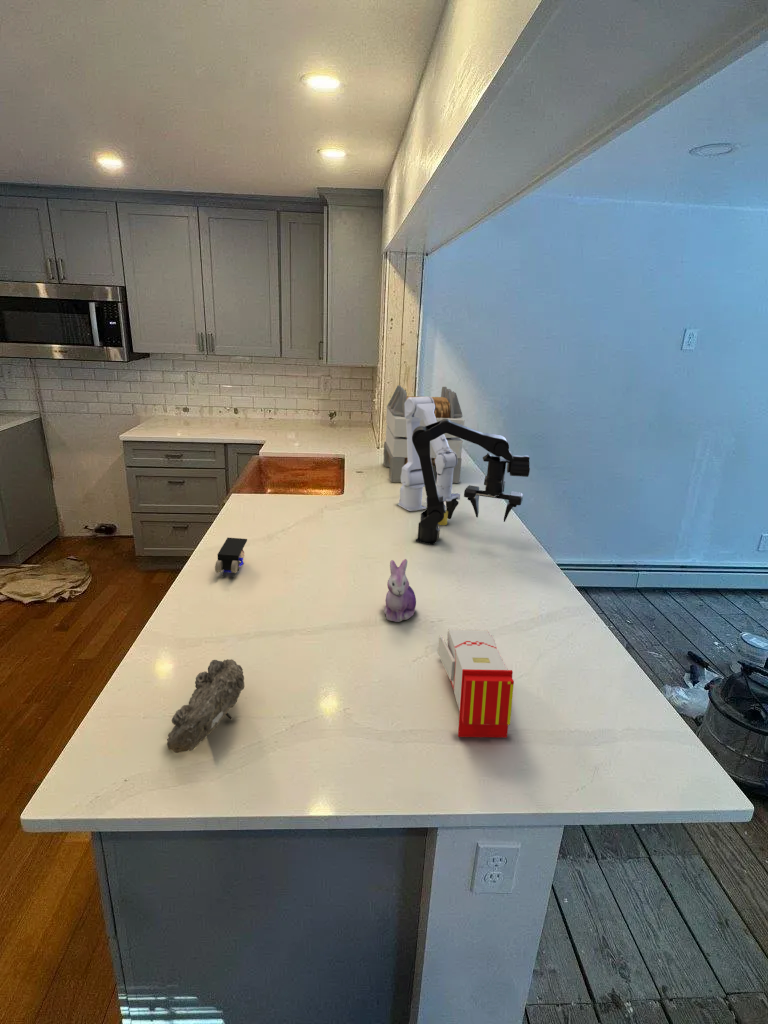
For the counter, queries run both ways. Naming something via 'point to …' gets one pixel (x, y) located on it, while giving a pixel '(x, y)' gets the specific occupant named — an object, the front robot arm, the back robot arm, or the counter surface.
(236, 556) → the black wheeled block
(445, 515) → the cylinder
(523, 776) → the counter surface
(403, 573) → the figurine
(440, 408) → the transformer
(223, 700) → the fossil
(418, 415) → the back robot arm
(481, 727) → the toy
